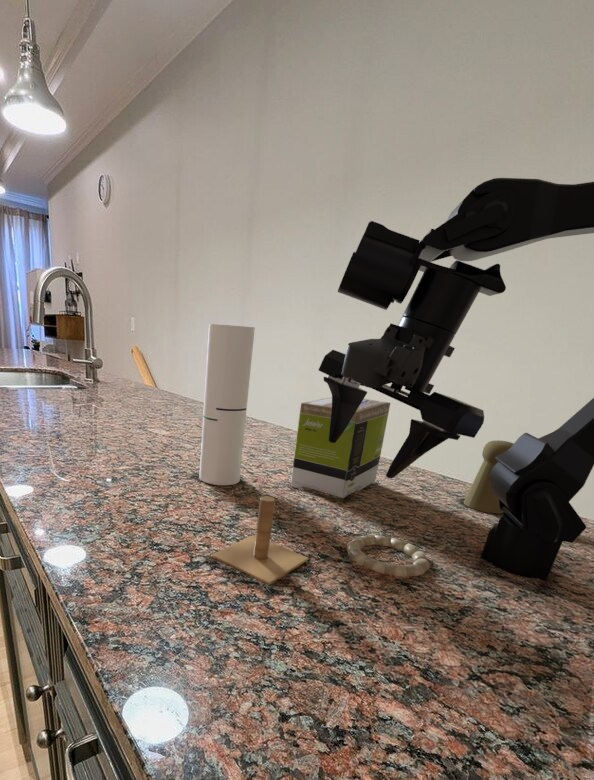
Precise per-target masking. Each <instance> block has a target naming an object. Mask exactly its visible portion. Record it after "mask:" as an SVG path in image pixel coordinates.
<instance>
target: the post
mask: <svg viewBox="0 0 594 780" xmlns="http://www.w3.org/2000/svg"><path fill="white" fill-rule="evenodd" d="M275 504H276V499H275V498H274V497H273V496H267V495H263V496H261V497H260V498H259V506H258V514H257V515H258V516H257V524H256V532H255V534H252V535H250V536H248V537H246V538H244V539H241V540H239V541H237V542H235V543H233V544H231V545H229V546H226V547H225V548H223V549H220V550H219V551H216V552H214V553H212V554H211V555H210V557H211V558H213V559H214V560H217V561H219V562H221V563H223V564H225V565H227V566H228V567H229V566H230V567H231V568H234V569H236V570H238V571H240V572H242V573H244V574H246V575H248V576H250V577H252V578H254V579H256V580H259V581H261V582H263V583H265V584H267V585H269V586H270V585H273V584H274V583H275V582H276V581H279V580H280V579H281V578H283V577H284V576H286V575H287V574H289V573H291V572H292V571H294V570H295V569H297V568H298V567H300V566H301V565H303V564H305V563H306V562H308V561H309V559H310V558H309V557H308V556H305V555H303V554H300V553H298V552H295V551H293V550H291V549H289V548H287V547H284V546H281V545H279V544H276V543H274V542H271V536H272V535H271V534H272V527H273V520H274V513H275V511H274V510H275Z"/></svg>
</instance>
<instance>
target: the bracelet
mask: <svg viewBox="0 0 594 780" xmlns="http://www.w3.org/2000/svg"><path fill="white" fill-rule="evenodd" d="M375 545H376V546H384V547H389V548H392V549H396V550H398V551H401V552H403V553H404V554H406V555H408V556H409V557H411V559H412V561H413V562H412V563H411V564H403V565H402V564H401V565H400V564H392V563H387V562H383V561H381V560H377V559H375V558H373V557H370V556H368V555H367V554H366V553H364V552H363V551H362V549H363V548H365V547H367V546H375ZM346 552H347V555H348V557H349V558H351V559H352V560H353V561H355V562H356V563H357V564H359V566H362V567H365V568H367V569H369V570H372V571H374V572H377V573H380V574H382V575H388V576H389V575H390V576H395V577H402V578H408V577H409V578H410V577H416V576H424V574H425V573H426V572H427V571H428V570H429V569H430V566H431V565H430V561H429V559H428V558H427V556H426V554H425V553H424V551H423V550H420V549H419V548H418V547H416V546H414V545H413V544H411V543H409V542H406V541H404V540H401V539H397V538H394V537H392V536H384V535H377V534H369V535H358V536H356V537H354V538H353V539H352V540H350V541H349V542H348V543H347V544H346Z"/></svg>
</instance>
